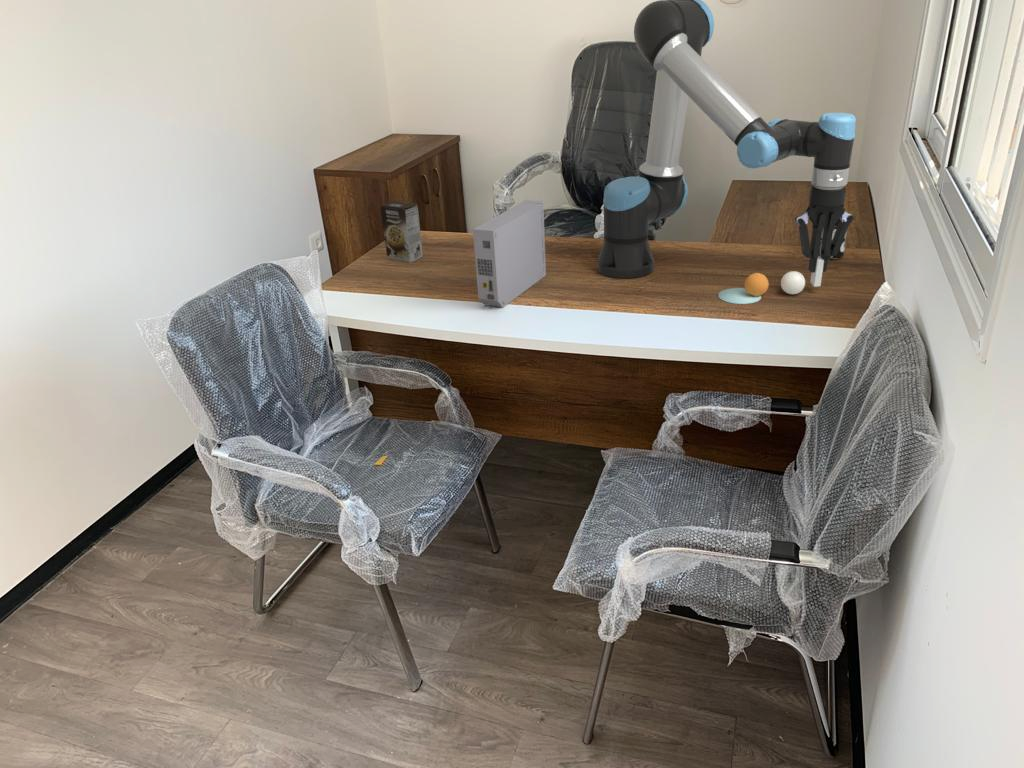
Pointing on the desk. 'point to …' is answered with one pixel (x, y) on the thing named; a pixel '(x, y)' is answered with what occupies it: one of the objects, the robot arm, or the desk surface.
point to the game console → (510, 253)
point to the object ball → (756, 284)
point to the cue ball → (793, 282)
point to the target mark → (737, 296)
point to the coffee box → (401, 231)
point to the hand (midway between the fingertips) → (815, 284)
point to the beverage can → (842, 247)
